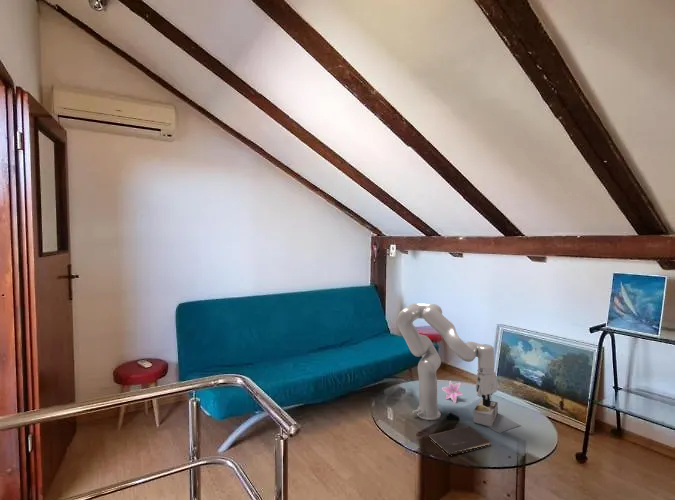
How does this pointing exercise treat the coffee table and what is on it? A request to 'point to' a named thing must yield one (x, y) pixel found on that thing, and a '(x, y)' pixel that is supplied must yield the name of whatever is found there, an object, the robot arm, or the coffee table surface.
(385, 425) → the coffee table surface
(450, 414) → the coffee table surface
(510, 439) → the coffee table surface
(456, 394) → the lily
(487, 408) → the coffee box
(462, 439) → the hardcover book
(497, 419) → the slate mat
